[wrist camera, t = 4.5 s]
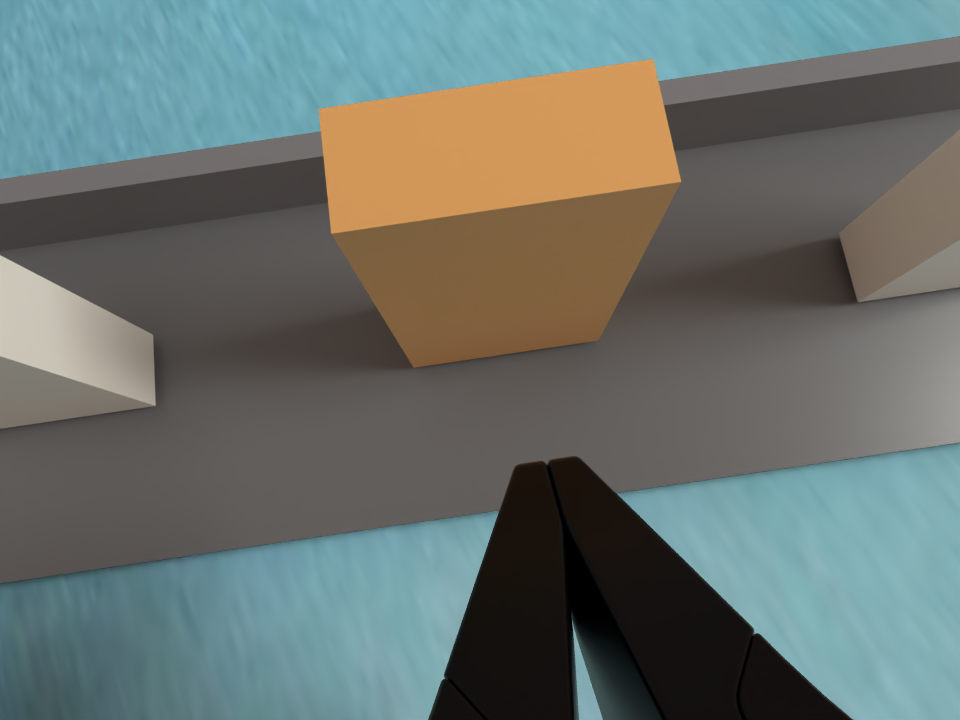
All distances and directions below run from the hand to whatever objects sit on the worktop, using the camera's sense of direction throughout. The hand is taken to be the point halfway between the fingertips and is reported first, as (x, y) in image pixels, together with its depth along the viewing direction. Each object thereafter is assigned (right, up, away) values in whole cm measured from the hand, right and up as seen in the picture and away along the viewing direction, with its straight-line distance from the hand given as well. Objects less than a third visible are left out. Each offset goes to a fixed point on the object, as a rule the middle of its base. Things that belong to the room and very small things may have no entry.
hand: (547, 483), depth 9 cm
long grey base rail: (0, +2, +11) cm, 11 cm away
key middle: (0, +3, +10) cm, 10 cm away
